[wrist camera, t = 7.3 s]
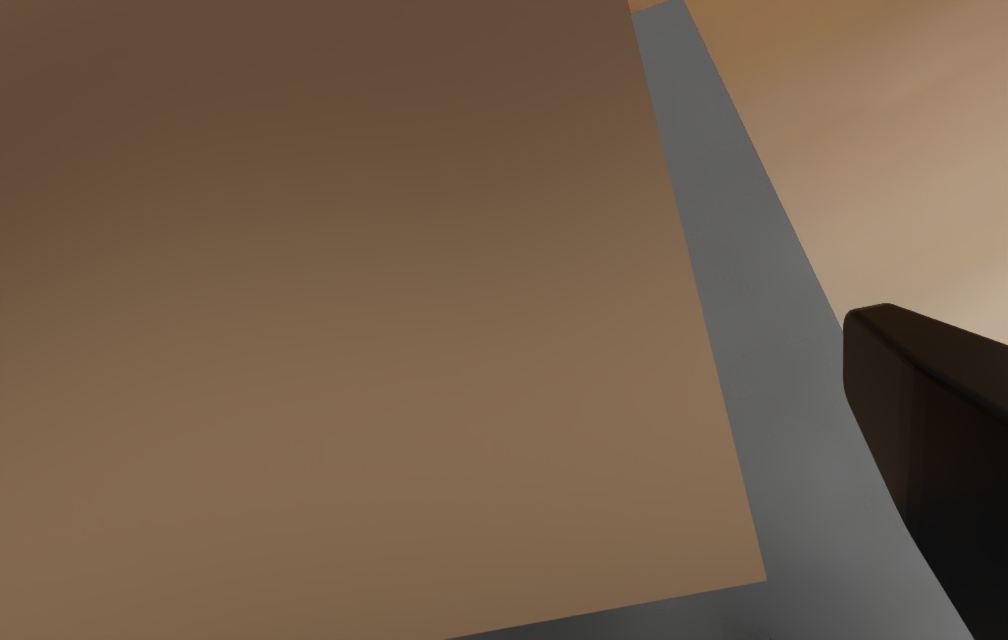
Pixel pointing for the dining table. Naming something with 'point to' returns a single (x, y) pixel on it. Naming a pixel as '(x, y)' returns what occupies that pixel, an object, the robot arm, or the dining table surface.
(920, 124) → the dining table surface
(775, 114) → the dining table surface
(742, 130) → the keeper
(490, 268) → the link block
